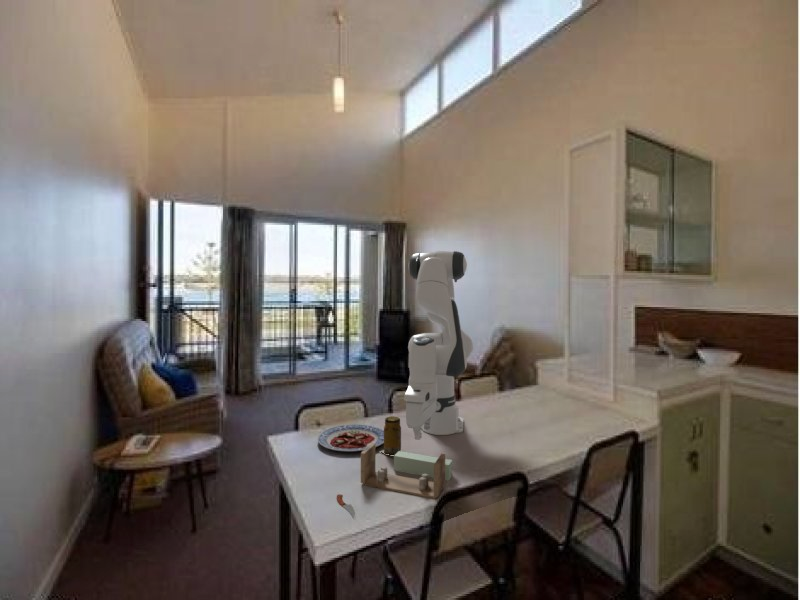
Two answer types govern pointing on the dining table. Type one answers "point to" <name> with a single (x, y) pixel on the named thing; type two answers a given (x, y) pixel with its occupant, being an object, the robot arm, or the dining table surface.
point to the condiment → (392, 436)
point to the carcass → (398, 482)
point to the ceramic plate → (351, 437)
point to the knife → (347, 506)
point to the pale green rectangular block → (419, 464)
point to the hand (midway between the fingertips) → (422, 433)
